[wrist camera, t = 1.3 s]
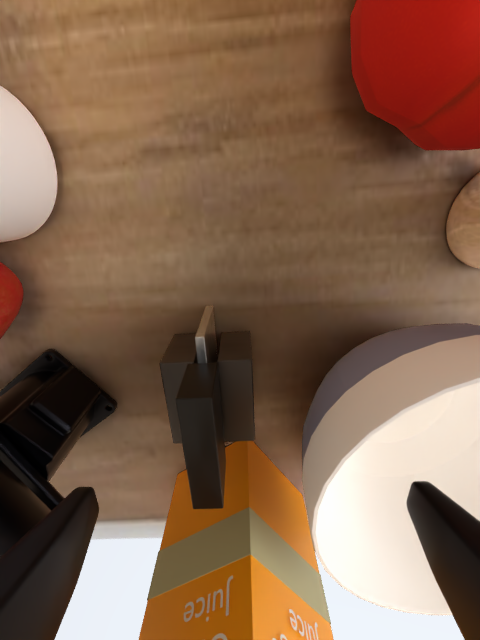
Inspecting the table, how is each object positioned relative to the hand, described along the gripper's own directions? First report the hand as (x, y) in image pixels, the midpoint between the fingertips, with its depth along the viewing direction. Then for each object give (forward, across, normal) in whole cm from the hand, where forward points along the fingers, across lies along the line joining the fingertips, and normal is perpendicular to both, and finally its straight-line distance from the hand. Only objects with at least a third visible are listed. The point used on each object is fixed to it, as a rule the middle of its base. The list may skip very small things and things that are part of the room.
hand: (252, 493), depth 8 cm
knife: (+12, +2, +4) cm, 13 cm away
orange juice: (+13, 0, +15) cm, 20 cm away
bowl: (+12, -11, +5) cm, 17 cm away
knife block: (+12, +2, +4) cm, 13 cm away
